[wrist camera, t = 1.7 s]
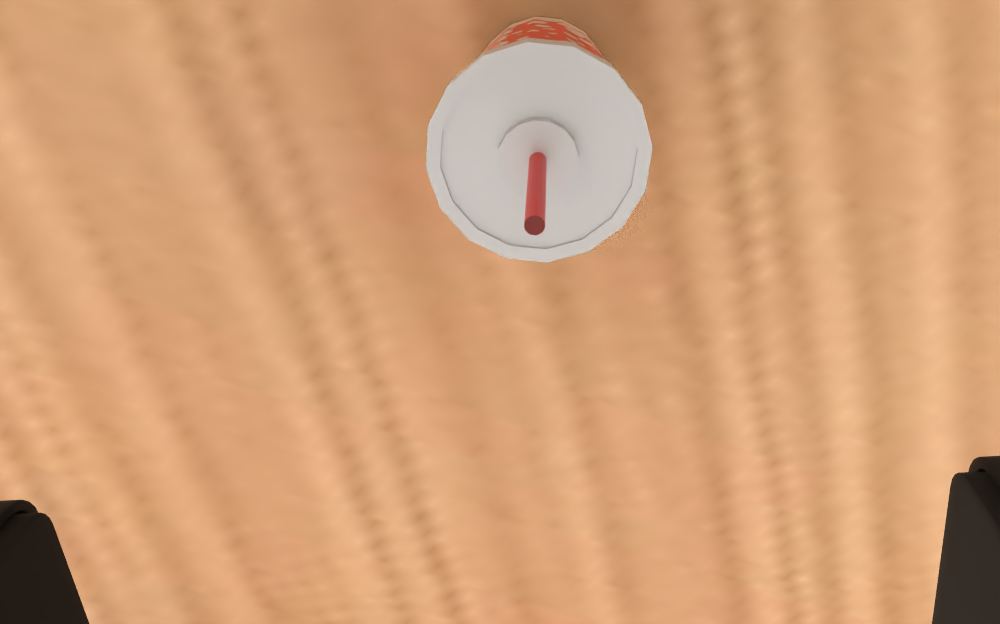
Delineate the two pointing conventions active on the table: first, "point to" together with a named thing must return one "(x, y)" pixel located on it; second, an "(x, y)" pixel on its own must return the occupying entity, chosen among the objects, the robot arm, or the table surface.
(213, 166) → the table surface
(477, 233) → the beverage cup
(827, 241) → the table surface
